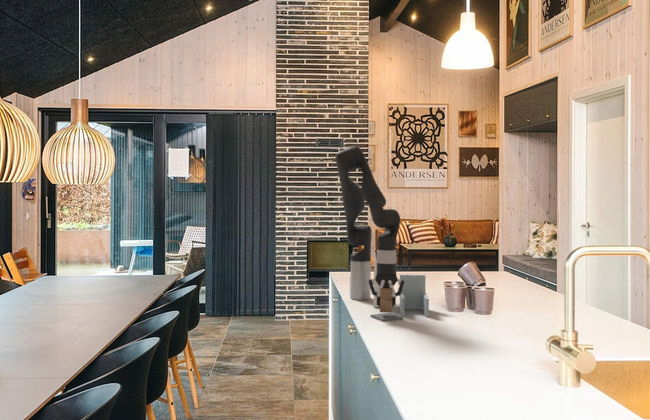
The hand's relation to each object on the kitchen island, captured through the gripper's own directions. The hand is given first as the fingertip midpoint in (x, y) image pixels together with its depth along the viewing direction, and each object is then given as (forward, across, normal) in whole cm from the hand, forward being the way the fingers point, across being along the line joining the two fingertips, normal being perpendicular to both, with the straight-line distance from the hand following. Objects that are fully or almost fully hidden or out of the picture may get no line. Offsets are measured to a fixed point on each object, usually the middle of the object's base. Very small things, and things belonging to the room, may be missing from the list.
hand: (386, 306), depth 216 cm
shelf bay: (+5, +11, +11) cm, 16 cm away
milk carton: (+5, -1, +24) cm, 24 cm away
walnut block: (+2, 0, 0) cm, 2 cm away
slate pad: (+5, 0, 0) cm, 5 cm away
